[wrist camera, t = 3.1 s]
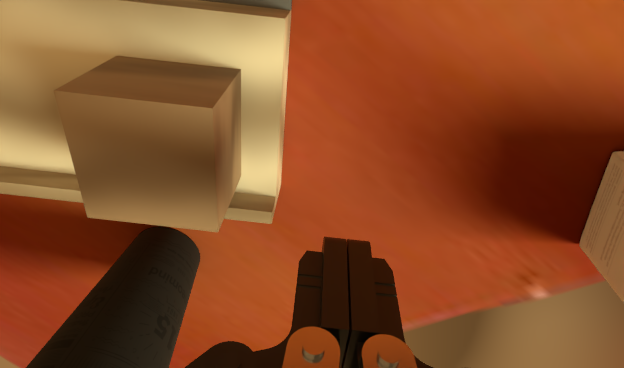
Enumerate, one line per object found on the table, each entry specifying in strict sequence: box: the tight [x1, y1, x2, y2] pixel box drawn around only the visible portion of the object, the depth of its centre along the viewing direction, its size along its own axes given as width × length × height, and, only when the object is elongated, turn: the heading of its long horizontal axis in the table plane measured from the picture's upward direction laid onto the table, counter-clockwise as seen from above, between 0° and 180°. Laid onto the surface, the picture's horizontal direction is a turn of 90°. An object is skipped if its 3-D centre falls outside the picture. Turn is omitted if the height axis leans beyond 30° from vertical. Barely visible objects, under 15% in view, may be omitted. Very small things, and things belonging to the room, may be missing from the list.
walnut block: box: [54, 56, 241, 232], centre depth 19 cm, size 6×6×5 cm
